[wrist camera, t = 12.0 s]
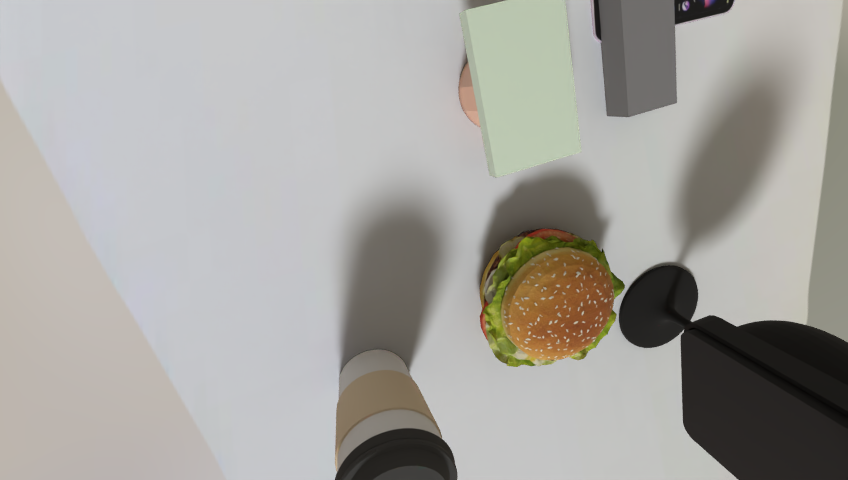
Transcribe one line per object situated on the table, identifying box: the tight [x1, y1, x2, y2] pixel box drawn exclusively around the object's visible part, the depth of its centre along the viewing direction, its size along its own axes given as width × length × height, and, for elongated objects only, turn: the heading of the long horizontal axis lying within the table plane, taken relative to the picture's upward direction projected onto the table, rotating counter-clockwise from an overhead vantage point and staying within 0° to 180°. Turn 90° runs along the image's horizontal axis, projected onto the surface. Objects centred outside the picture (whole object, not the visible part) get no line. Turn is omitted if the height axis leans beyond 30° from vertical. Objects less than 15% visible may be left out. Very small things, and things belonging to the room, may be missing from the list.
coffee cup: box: [335, 349, 457, 480], centre depth 36 cm, size 9×9×15 cm
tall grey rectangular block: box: [599, 0, 677, 117], centre depth 38 cm, size 10×5×3 cm, turn 14°
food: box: [480, 229, 625, 367], centre depth 41 cm, size 14×14×8 cm
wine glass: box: [619, 265, 848, 385], centre depth 40 cm, size 10×10×20 cm
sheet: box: [459, 0, 581, 178], centre depth 33 cm, size 12×8×1 cm, turn 14°
